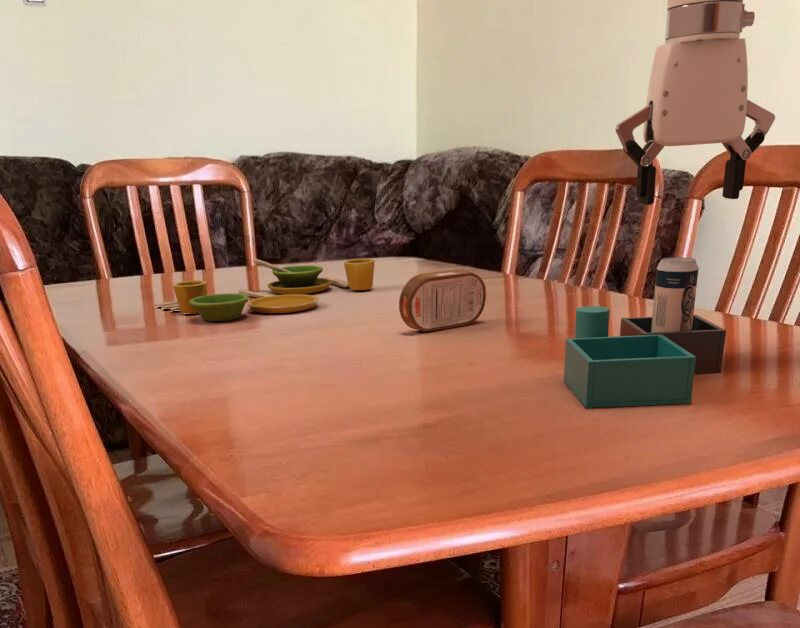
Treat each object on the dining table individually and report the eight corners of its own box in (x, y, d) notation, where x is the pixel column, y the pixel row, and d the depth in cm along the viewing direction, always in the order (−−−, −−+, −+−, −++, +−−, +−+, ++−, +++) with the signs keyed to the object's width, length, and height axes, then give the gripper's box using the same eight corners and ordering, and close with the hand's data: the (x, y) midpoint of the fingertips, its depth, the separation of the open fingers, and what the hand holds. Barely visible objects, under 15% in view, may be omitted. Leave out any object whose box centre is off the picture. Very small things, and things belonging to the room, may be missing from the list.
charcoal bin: (692, 353, 107) (696, 314, 105) (720, 372, 98) (726, 330, 96) (618, 357, 107) (621, 318, 105) (640, 376, 98) (643, 334, 96)
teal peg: (601, 361, 105) (605, 305, 102) (609, 369, 102) (613, 311, 99) (570, 362, 105) (572, 306, 102) (577, 370, 102) (580, 312, 99)
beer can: (690, 365, 100) (702, 262, 95) (650, 365, 101) (659, 262, 96) (685, 355, 104) (696, 256, 99) (646, 355, 105) (655, 257, 100)
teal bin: (657, 376, 98) (661, 334, 96) (690, 403, 88) (696, 356, 85) (563, 380, 98) (565, 338, 95) (585, 408, 87) (588, 361, 85)
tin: (476, 319, 132) (477, 265, 129) (489, 322, 130) (489, 267, 126) (398, 333, 125) (396, 276, 122) (410, 336, 123) (408, 278, 119)
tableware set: (327, 280, 177) (325, 249, 174) (409, 294, 157) (408, 259, 154) (144, 308, 154) (138, 272, 151) (212, 328, 134) (206, 288, 131)
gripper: (768, 26, 91) (749, 194, 98) (611, 37, 91) (604, 204, 98) (800, 17, 84) (778, 198, 91) (631, 28, 84) (622, 208, 91)
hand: (688, 201), depth 95 cm, fingers open, 9 cm apart
